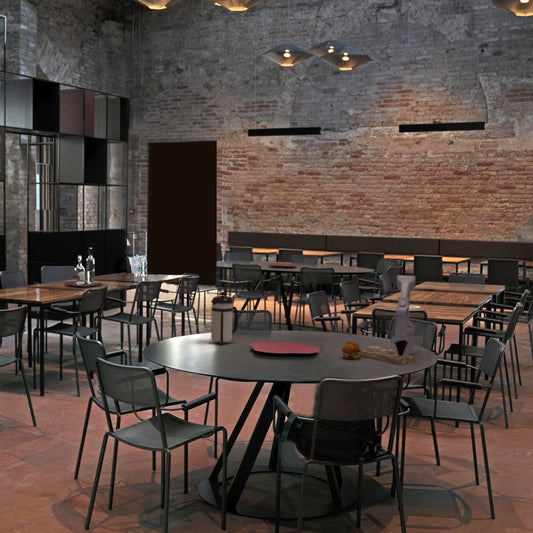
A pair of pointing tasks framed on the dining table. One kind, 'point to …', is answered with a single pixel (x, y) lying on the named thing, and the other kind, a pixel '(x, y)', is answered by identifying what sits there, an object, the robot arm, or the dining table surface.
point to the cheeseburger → (351, 350)
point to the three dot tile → (400, 355)
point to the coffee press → (223, 319)
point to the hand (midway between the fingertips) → (400, 354)
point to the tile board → (388, 357)
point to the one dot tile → (374, 348)
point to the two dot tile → (387, 351)
